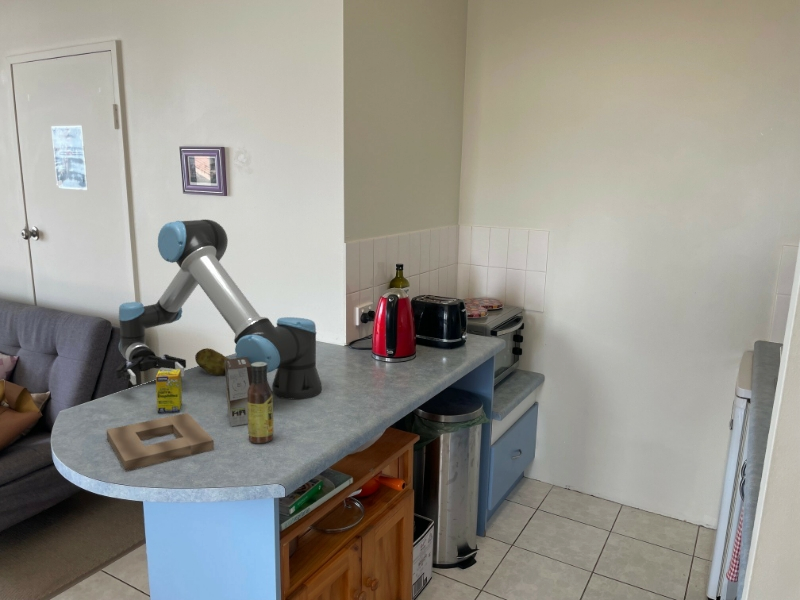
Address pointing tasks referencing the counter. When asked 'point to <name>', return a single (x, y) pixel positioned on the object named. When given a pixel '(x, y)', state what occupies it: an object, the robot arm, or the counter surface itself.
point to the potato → (211, 361)
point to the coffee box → (238, 389)
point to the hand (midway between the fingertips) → (159, 376)
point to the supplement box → (169, 391)
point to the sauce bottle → (260, 405)
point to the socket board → (137, 455)
